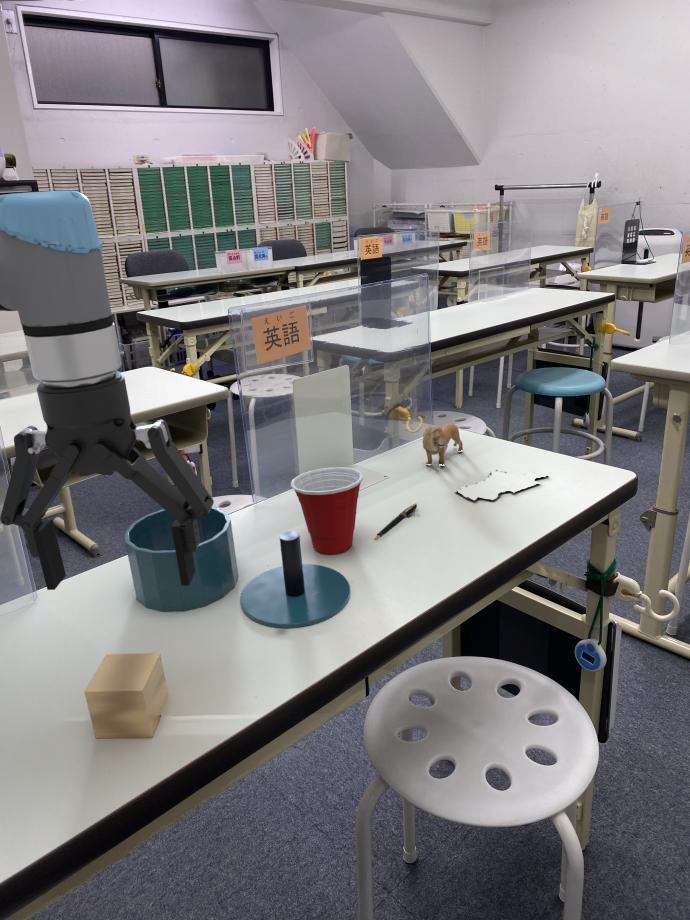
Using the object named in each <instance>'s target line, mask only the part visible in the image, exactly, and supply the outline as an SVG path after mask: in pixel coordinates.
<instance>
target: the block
mask: <svg viewBox="0 0 690 920" xmlns="http://www.w3.org/2000/svg"><path fill="white" fill-rule="evenodd" d="M83 693H84V696H85V700H86V704H87V708H88V709H87V710H88V713H89V717H90V720H91V724H92V729H93V732H94V736H95V739H134V738H135V739H140V738H142V739H144V738H145V739H146V738H147V739H150V738H153V737H154V735H155V732H156V730H157V727H158V725H159V723H160V720H161V717H162V715H160V714H161V712H162V709H163V707H164V705H165V703H166V701H167V698H168V695H169V691H168V685H167V680H166V676H165V671H164V665H163V660H162V656H161V653H160V652H153V653H151V652H150V653H148V652H147V653H145V652H143V653H106V654H105V656H104V657H103V659H102V661H101V663H100V664H99V666H98V667H97V670H96V671H95V673H94V674H93V675H92V678H91V680H90V681H89V683H88V685H87V687H86V688H85V690H84V691H83Z"/></svg>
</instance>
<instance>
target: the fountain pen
mask: <svg viewBox="0 0 690 920" xmlns="http://www.w3.org/2000/svg"><path fill="white" fill-rule="evenodd" d="M417 508H418V504H417V503H416V502H415V503H413V504H411V505H409V506H408V507H407V508H405V509H404V510H403V511H401V512H400V513H399V514H398V515H397V516H396V517H394V519H392V520H391V521H390V522H389V523H388V524H386V525H385V526H384V527H383V528H382V529H381V530H380V531H379V532H378V533H377V534H376V536H375V537H373V540H377V539H379V538H382V537H383V536H384V535H385V534H387V533H388V532H389V531H391V530H392V529H393V528H395V527H396V526H397V525H399V523H401V522H402V521H403V520H405V519H408V517H409V516H411V515H412V513H414V511H416V509H417Z"/></svg>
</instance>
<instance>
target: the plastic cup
mask: <svg viewBox="0 0 690 920" xmlns="http://www.w3.org/2000/svg"><path fill="white" fill-rule="evenodd" d="M363 474H364V473H363V472H362V471H360V470H358V469H356V468H351V467H343V466H342V467H340V466H331V467H323V468H322V467H321V468H316V469H312V470H309V471H306V472H303V473H301V474H298V475H297V476H295V477H294V478H293V479H292V480H291V482H290V487H291V488H292V489H293V490H294V492H295V494H296V497H297V499H298V502H299V503H300V507H301V510H302V514H303V517H304V521H305V524H306V528H307V532H308V534H309V536H310V540H311V544H312V547H313V549H314V551H316V552H317V553H319V554H321V555H327V556H333V555H340V554H344V553H345V552H347V551H349V550H350V549H351V547H352V546H353V542H354V541H353V540H354V532H355V529H356V528H355V527H356V518H357V509H358V499H359V495H360V494H359V493H360V489H361V488H360V487H361V484H362V482H363V479H364V475H363Z"/></svg>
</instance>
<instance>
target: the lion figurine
mask: <svg viewBox="0 0 690 920" xmlns="http://www.w3.org/2000/svg"><path fill="white" fill-rule="evenodd" d="M422 435H423V438H422V448H423V449H424V450H425V453H426V457H427V458H426V459H427V461H426V462H425V465H426V464H432V465H433V456H435V455H438V465H439V464H442V465H443V464H444V463H445V454H446V451H447V449H448V445H449V443H450V441H451V440H452V441H453V442H454V443H453V447H458V449H457V450H458V451H461V450H463V451H464V447H463V445H464V444H463V441H462V439H461V437H460V429H459V427H458V426H457V425H456V424H455V423H452V422H451V423H445V424H443V425H442V426H438V425H436V424H433V425H429V426H427V428H425V430H424V431H423V434H422ZM457 445H458V446H457Z"/></svg>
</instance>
